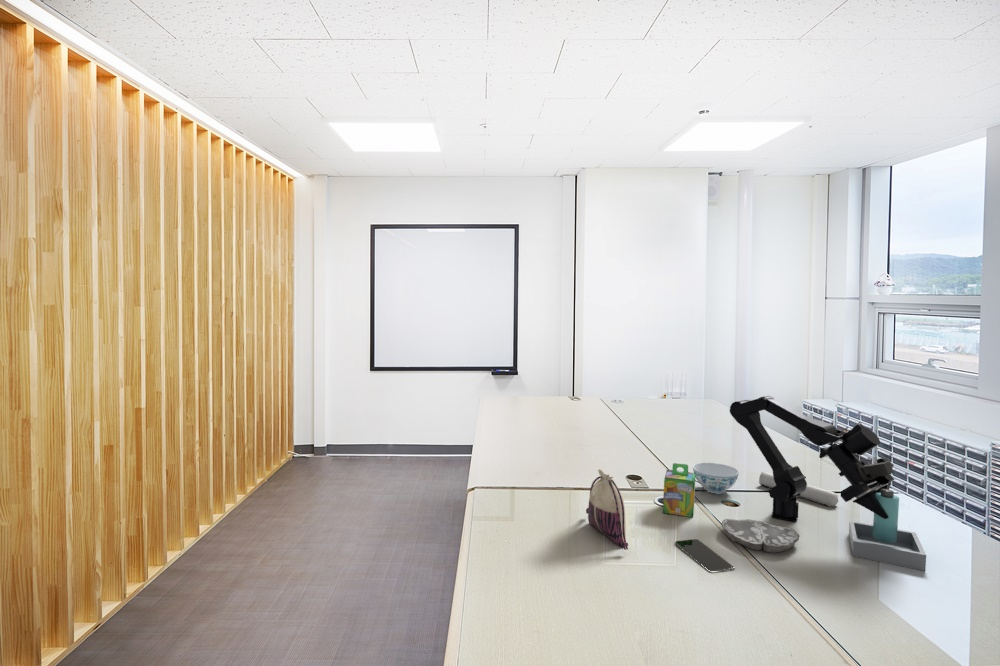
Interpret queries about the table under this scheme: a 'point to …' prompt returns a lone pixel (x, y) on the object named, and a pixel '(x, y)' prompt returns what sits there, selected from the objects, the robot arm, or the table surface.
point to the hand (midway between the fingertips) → (891, 516)
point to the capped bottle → (887, 527)
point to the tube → (809, 492)
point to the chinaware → (715, 476)
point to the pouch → (607, 509)
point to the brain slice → (760, 535)
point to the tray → (887, 547)
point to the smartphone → (704, 555)
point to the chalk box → (679, 491)
